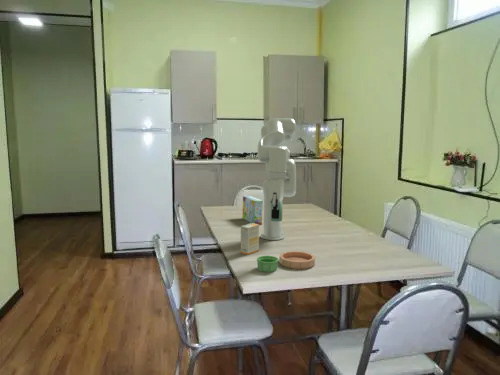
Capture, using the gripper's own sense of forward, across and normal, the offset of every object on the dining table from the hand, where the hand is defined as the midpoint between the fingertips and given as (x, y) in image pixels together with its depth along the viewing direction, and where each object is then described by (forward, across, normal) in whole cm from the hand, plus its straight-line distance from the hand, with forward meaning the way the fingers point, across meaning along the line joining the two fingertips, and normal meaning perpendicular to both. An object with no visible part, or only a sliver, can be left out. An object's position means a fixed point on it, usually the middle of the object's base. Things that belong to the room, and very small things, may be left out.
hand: (276, 216), depth 177 cm
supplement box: (+20, -9, -14) cm, 26 cm away
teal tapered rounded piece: (+2, 0, 0) cm, 2 cm away
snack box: (+20, -72, -29) cm, 80 cm away
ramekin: (+20, +12, -1) cm, 23 cm away
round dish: (+20, +1, +10) cm, 22 cm away
